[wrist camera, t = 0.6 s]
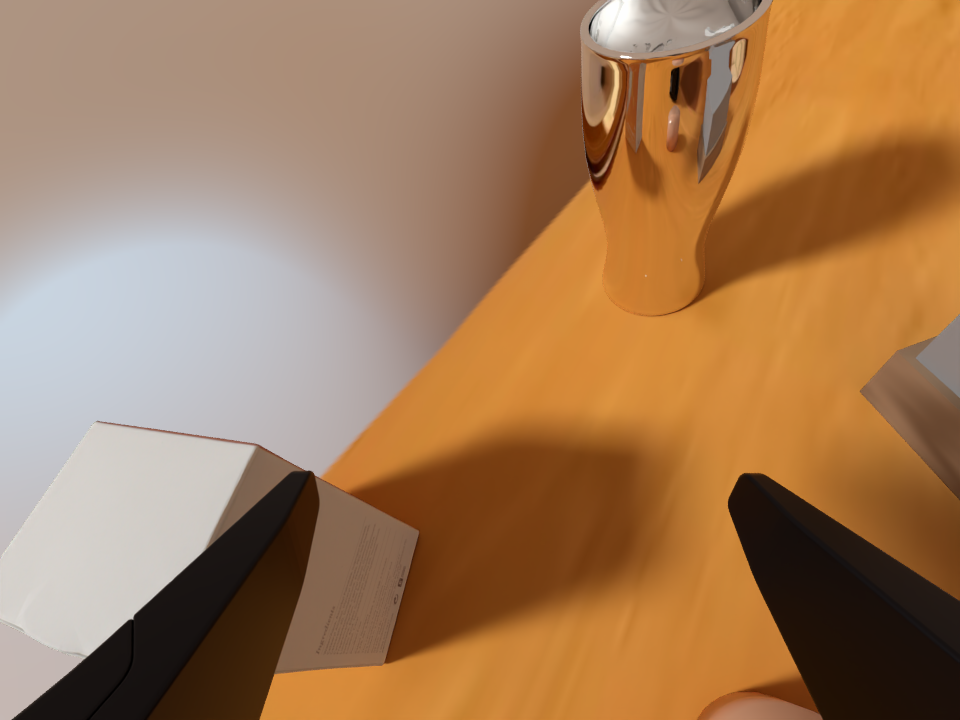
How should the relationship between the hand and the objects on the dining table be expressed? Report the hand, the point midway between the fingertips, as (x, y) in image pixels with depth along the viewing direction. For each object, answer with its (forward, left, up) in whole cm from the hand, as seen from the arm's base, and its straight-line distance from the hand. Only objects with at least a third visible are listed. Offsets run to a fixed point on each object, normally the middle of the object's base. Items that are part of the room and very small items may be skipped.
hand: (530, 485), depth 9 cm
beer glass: (+15, -11, -14) cm, 23 cm away
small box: (+4, +12, -14) cm, 19 cm away
